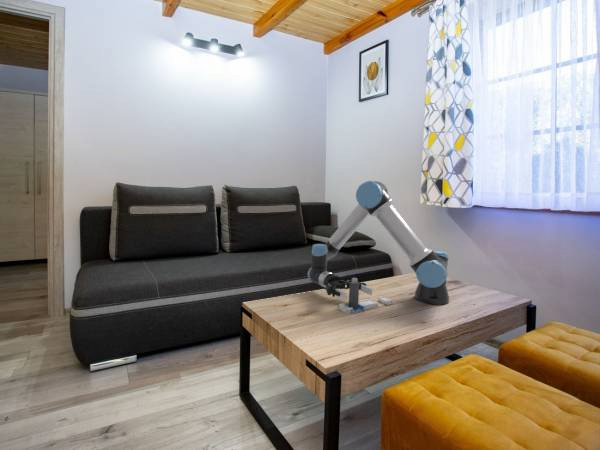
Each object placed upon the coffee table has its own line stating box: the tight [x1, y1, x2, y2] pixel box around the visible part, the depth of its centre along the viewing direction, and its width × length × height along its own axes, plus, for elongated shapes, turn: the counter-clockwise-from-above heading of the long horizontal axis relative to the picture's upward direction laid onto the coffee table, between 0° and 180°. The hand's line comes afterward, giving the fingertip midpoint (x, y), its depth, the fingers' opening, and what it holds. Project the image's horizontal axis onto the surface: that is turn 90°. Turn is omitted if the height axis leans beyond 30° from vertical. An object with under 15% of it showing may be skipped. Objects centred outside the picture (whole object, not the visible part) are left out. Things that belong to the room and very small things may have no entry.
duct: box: [338, 295, 393, 314], centre depth 152 cm, size 25×7×2 cm, turn 119°
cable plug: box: [348, 277, 360, 310], centre depth 148 cm, size 4×4×13 cm
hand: (359, 294), depth 145 cm, fingers open, 13 cm apart
